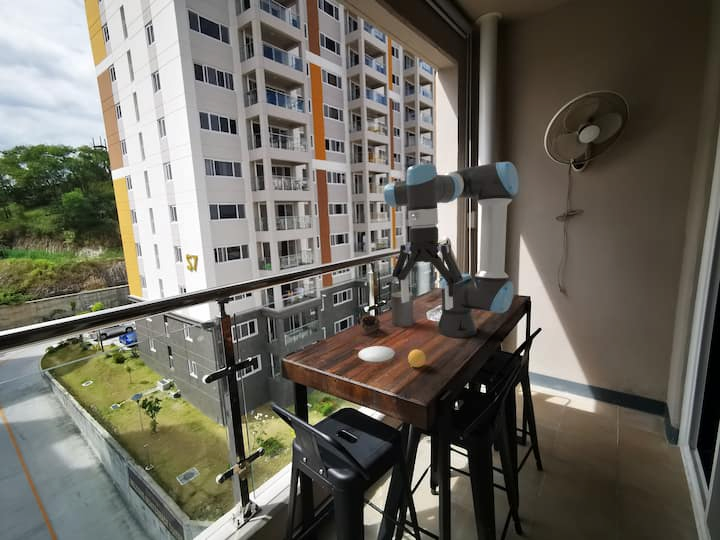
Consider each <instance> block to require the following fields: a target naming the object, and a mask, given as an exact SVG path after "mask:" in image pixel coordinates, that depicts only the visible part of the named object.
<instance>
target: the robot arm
mask: <svg viewBox="0 0 720 540" xmlns="http://www.w3.org/2000/svg"><path fill="white" fill-rule="evenodd" d="M519 186H520V180H519V175H518V171H517V168H516V167H515V165H514V164H513V163H512V162H510V161H503V162H501V161H500V162H499V161H498V162H497V161H496V162H493V163H488V164H482V165H476V166H470V167H469V166H468V167H466V168H462V169H459V170H455V171H450V172H447V173H445V174H438V172H437V166H436V165H435V164H431V163H422V164H415V165H411V166H409V167H408V168H407V170H406V179H405V180H399V181H398V180H397V181H393V182H392V181H391V182H389V183H387V184H386V185H385V186H384V190H383V199H384V201H385V203H386V204H387V206H389V207H393V208H394V207H396V208H398V207H405V206H407V207H408V208H407V209H408V210H407V213H408V215H407V216H408V226H409V227H410V228H409V229H408V235H409V236H408V237H409V238H408V239H409V240H408V241H409V242H410V244H408V243H406V244H401V245H400V247H399V248H400V249H399V254H398V257H397V260H396V263H395V265H394V268H393V271H392V273H391V274H392V275H391V276H392V277H393V278H396V279H397V280H398V290H399V291H400V292H401V299H402V303H405V302H408V301H409V292H410V287H409V286H410V285H409V278H407V276H408V275H409V273H410V272H411V271H412V270H413V268H414V266H415V265H416V264H417V263H421V262H424V263H430V264H431V265H433V266H434V267H435V269H436V270H437V272H438V273H439V274H440V275H441V277H442V279H441V283H440V284H441V285H440V292H441V314H440V318H439V321H438V323H437V331H438V333H439V334H441V335H443V336H446V337H451V338H468V337H471V336H475V334H477V332H478V331H477V324H476V321H475V318H474V316H473V313H472V310H476V311H477V310H479V311H483V312H491V313H493V314H494V313H498V314H502V313H505V312H507V311H508V310H509V308H510V307H511V305H512V302H513V300H514V294H515V285H514V283H513V282H512V281H509V275H508V274H507V273H506V272H505V268H506V267H505V265H506V264H505V261H506V259H505V258H506V239H507V236H506V235H507V218H508V217H507V213H508V205H509V204H510V203H511V202H512V201H513V196H515V195H516V194H518V192H519ZM456 199H477V203H478V204H479V205H480V206H481V214H480V215H481V216H480V218H481V219H480V220H481V221H480V243H479V245H480V246H479V271H478V272H476V273H475V275H474V278H473V276H472V274H469V273H461V271H460V269H459V266H458V265H457V264H456V260H455V259H454V256H453V255H452V251H451V250H452V249H451V245H449V244H444V245H439V227H438V226H436V225H438V224H439V217H438V216H439V213H438V211H439V210H438V204H448V203H451V202H454V201H455V200H456ZM409 253H410V254H411V255H410V257H409V258H408V255H409ZM439 254H440V255H441V256H442V258H441V257H440V255H439ZM407 258H408V261H407ZM442 259H443V261H444V262H443V261H442ZM406 261H407V262H406ZM405 263H406V264H405Z"/></svg>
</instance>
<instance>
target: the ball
mask: <svg viewBox="0 0 720 540" xmlns="http://www.w3.org/2000/svg"><path fill="white" fill-rule="evenodd" d="M407 357H408V358H407V360H408V362H409V364H410V365H411V366H412V367H414V368H420V367H423V366H424V364H425V363H426V354H425V353H424V352H423V351H422V350H420V349H417V348H416V349H413V350H411V351H410V352H409V354H408V356H407Z"/></svg>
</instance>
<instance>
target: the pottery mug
mask: <svg viewBox="0 0 720 540" xmlns="http://www.w3.org/2000/svg"><path fill="white" fill-rule="evenodd" d="M356 322H357V324H358V325H360V326H359V327H360V328H361V334H362V335H364V336H365V335H366V334H369V333H370V334H371V333H373V332H375V331H377V330H379V329H380V328H381V325H380V324H379V323H381V321H380V320H379V318H378V317H377V316H375V315H372V314H367V315H366V314H365V315H364V316H357V318H356Z"/></svg>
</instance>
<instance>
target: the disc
mask: <svg viewBox="0 0 720 540" xmlns="http://www.w3.org/2000/svg"><path fill="white" fill-rule="evenodd" d="M395 354H396V352H395V350H394V349H392V348H391V347H388V346H384V345H383V346H382V345H376V346H375V345H374V346H369V347H364V348H363V349H361V350H360V351H359V352H358V354H357V355H358V358H359V359H361V360H362V361H365V362H369V363H379V362H386V361H389V360H390V359H392V358H394V356H395Z"/></svg>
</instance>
